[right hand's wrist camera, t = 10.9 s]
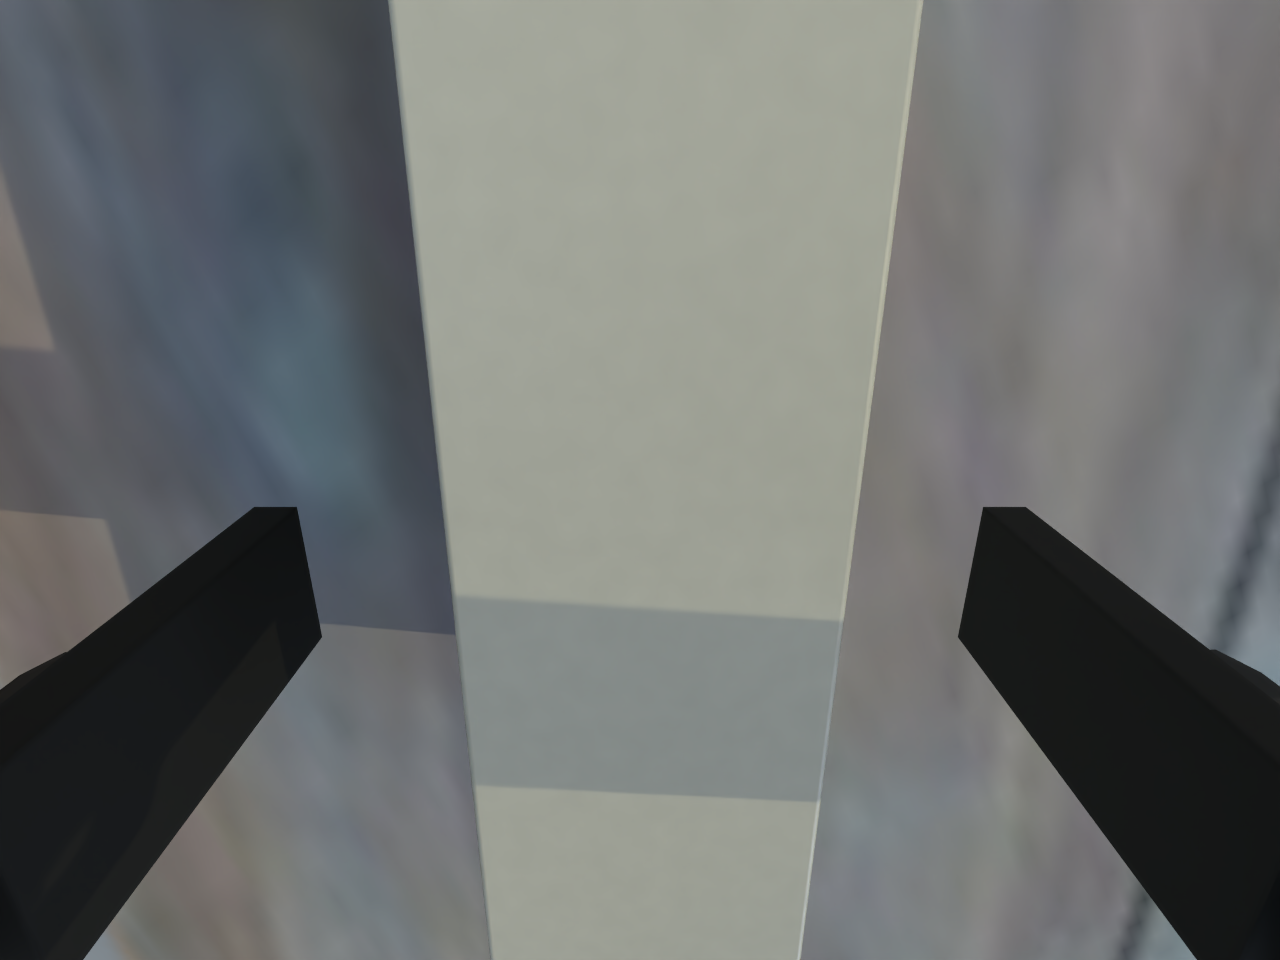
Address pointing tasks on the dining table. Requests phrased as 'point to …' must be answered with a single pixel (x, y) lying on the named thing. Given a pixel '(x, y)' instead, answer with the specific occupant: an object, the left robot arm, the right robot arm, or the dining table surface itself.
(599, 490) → the bar
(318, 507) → the dining table surface
